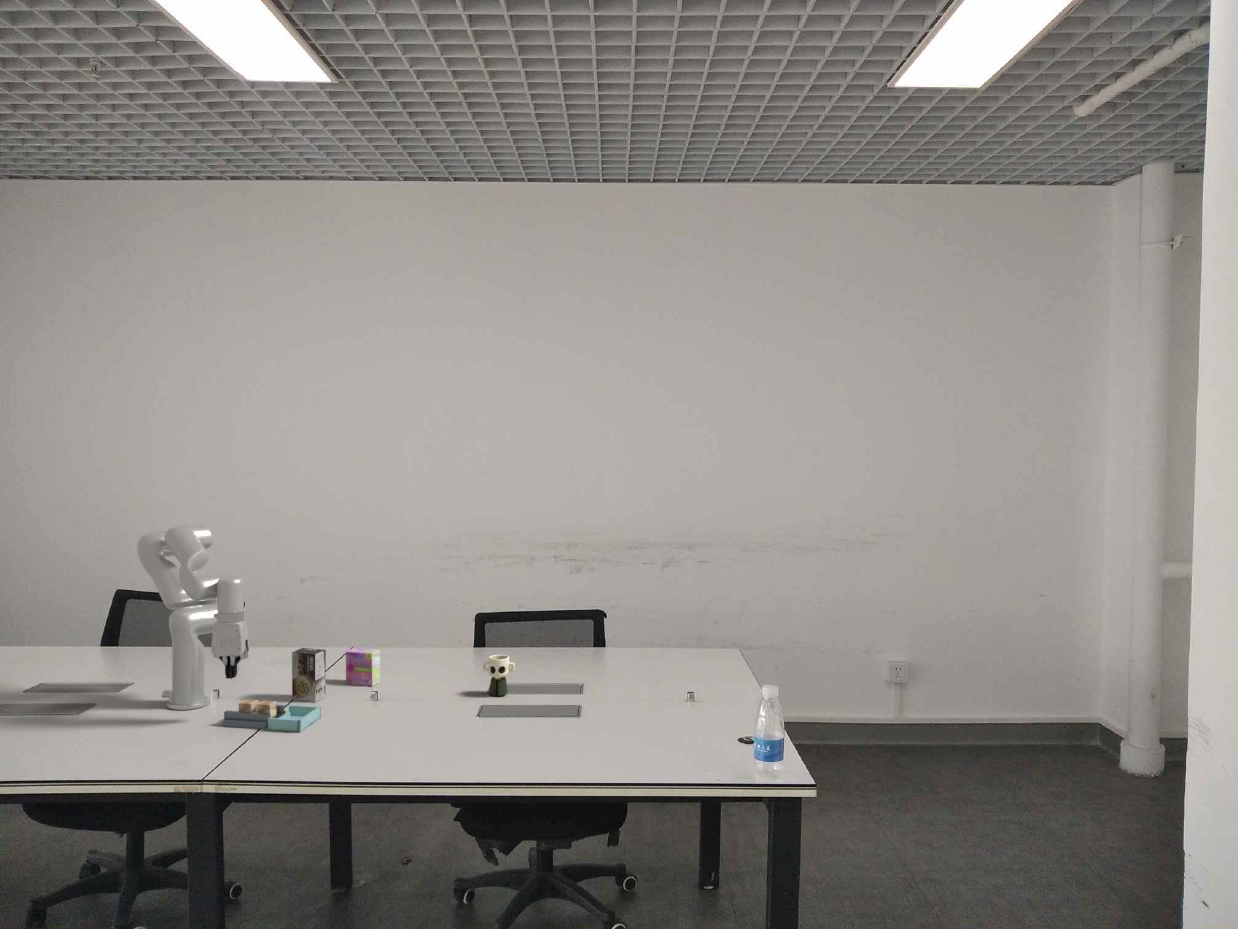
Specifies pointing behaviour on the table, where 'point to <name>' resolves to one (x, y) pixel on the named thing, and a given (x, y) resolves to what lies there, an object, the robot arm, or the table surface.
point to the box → (362, 667)
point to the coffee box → (308, 674)
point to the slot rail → (250, 718)
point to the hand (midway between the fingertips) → (231, 677)
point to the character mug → (498, 673)
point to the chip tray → (295, 719)
